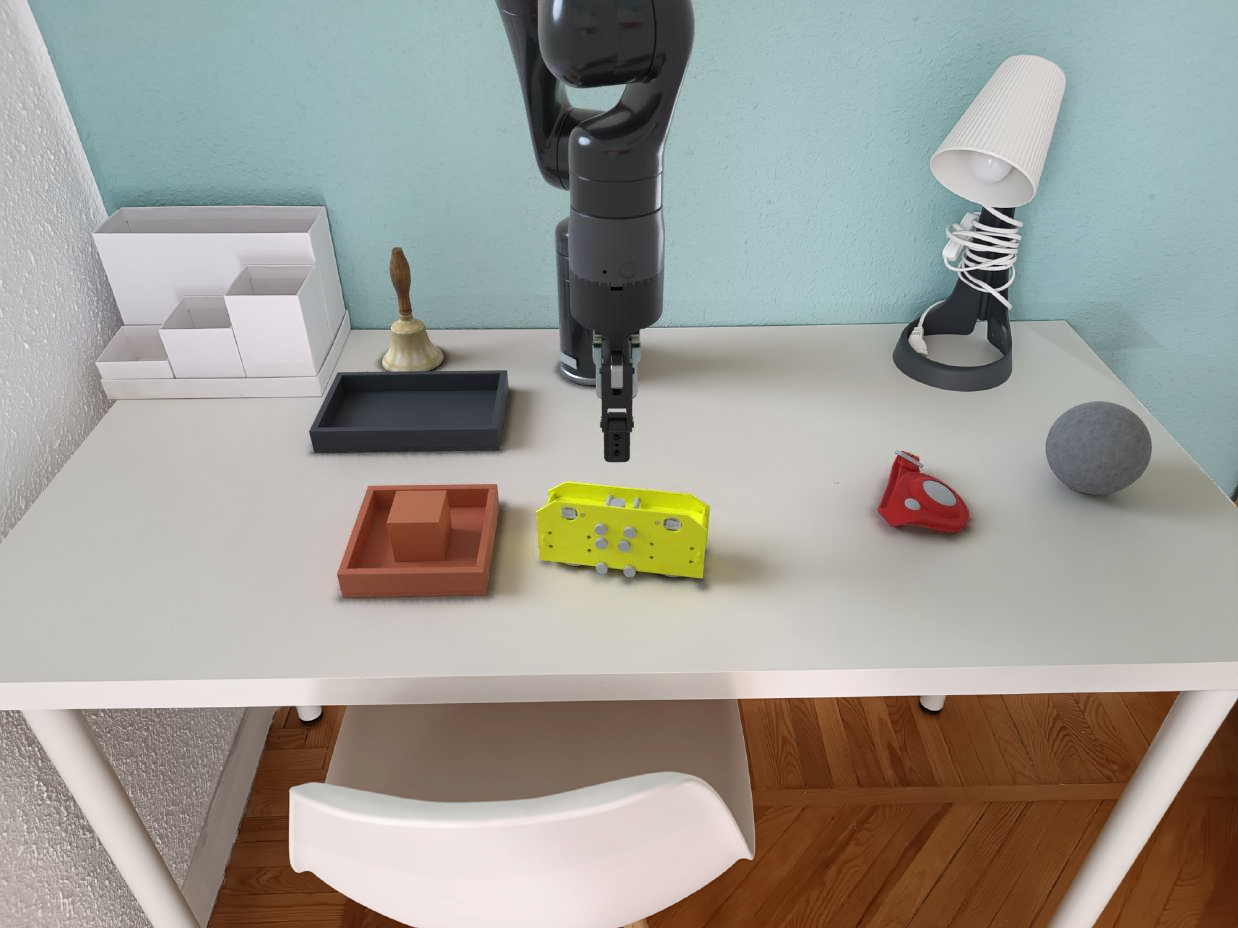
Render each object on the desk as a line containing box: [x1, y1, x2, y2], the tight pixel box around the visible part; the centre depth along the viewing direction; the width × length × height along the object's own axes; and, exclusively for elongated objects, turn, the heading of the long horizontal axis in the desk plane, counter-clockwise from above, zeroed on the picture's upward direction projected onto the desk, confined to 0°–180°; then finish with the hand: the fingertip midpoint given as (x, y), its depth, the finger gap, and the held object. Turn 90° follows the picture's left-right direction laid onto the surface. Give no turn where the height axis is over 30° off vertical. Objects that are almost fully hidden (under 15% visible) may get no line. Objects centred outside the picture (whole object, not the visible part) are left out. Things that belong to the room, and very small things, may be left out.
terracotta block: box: [387, 490, 452, 562], centre depth 86 cm, size 5×5×5 cm
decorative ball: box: [1045, 400, 1153, 496], centre depth 93 cm, size 10×10×10 cm
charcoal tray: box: [308, 369, 510, 454], centre depth 107 cm, size 14×22×3 cm, turn 91°
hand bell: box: [381, 246, 445, 372], centre depth 115 cm, size 8×8×16 cm
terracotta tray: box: [336, 483, 501, 598], centre depth 87 cm, size 14×14×3 cm
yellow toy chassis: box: [535, 480, 711, 579], centre depth 84 cm, size 16×6×8 cm, turn 80°
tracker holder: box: [876, 449, 970, 534], centre depth 92 cm, size 12×4×10 cm
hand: (616, 432), depth 78 cm, fingers open, 8 cm apart
